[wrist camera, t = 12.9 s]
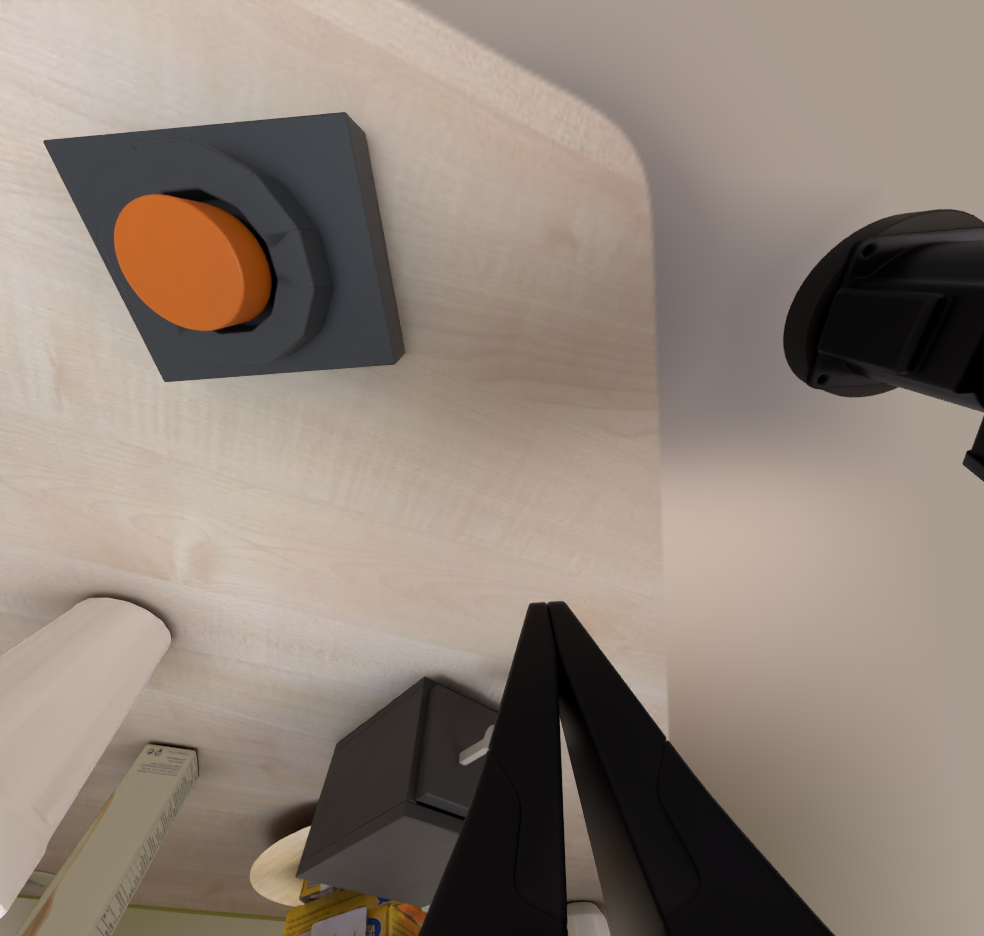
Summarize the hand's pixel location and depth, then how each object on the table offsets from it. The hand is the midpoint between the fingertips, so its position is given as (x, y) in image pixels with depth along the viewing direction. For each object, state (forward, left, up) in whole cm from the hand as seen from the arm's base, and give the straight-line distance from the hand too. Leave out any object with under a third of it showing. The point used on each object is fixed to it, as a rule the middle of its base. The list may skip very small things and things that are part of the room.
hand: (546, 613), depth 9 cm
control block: (+10, -8, -12) cm, 18 cm away
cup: (+28, +13, -12) cm, 33 cm away
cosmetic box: (+34, +32, -12) cm, 48 cm away
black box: (+9, +30, -12) cm, 34 cm away
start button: (+10, -8, -8) cm, 15 cm away
